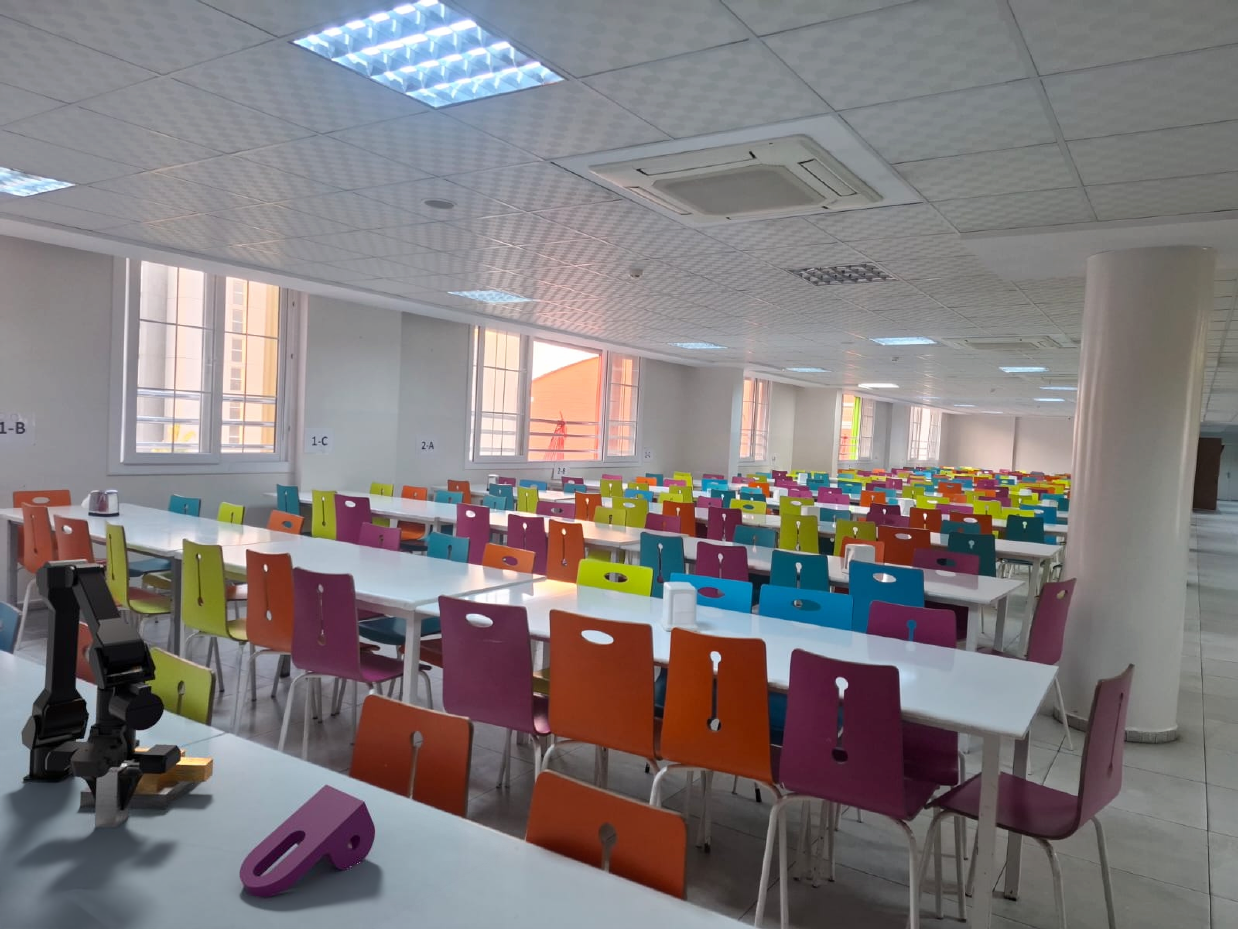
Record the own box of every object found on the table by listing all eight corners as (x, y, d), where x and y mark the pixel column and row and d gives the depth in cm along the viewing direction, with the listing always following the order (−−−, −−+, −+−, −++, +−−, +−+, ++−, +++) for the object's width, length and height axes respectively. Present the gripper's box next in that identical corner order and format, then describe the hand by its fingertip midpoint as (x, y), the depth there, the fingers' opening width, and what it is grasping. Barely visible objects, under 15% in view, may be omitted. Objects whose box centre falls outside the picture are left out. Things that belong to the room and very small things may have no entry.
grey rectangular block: (94, 827, 132) (97, 771, 132) (108, 815, 136) (111, 762, 136) (115, 827, 132) (117, 772, 132) (128, 816, 136) (131, 762, 136)
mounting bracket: (285, 939, 116) (381, 842, 129) (264, 896, 113) (364, 801, 126) (247, 914, 121) (343, 823, 134) (226, 873, 118) (326, 784, 131)
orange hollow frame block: (80, 806, 139) (81, 774, 139) (125, 773, 153) (126, 743, 153) (189, 810, 140) (190, 777, 140) (224, 776, 154) (226, 747, 154)
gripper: (23, 729, 125) (19, 830, 126) (149, 734, 126) (145, 834, 127) (69, 706, 137) (65, 799, 137) (184, 710, 137) (180, 803, 138)
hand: (112, 809), depth 134 cm, fingers closed on grey rectangular block, 3 cm apart
